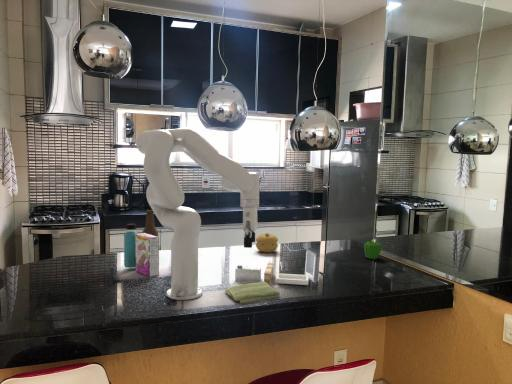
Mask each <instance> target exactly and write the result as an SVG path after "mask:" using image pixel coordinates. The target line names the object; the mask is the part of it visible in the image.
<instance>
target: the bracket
mask: <svg viewBox="0 0 512 384" xmlns="http://www.w3.org/2000/svg"><path fill="white" fill-rule="evenodd" d="M275 276H276V277H275V284H282V285H283V284H285V285H286V284H287V285H298V286H299V285H302V286H303V285H304V286H309V274H293V273H276V275H275Z"/></svg>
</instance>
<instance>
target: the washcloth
mask: <svg viewBox="0 0 512 384" xmlns="http://www.w3.org/2000/svg"><path fill="white" fill-rule="evenodd" d="M224 292H226V294H227V295H228V296H229V297H230V298H232V299H233V300H234V301H235V302H236V301H237V302H238V303H240V304H246V303H253V302H257V301H259V302H260V301H264V300H269V299H275V298H276V299H277V298H278V297H280V295H281V292H280V291H279V290H278V289H276V288H274V287H273V286H271V285H269V284H268V283H266V282H264V280H262V281H261V280H260V282H253V283H252V282H250V283H245V284H241V285H240V284H239V285H233V286H230V287H228V288H225V290H224Z"/></svg>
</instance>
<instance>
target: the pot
mask: <svg viewBox="0 0 512 384" xmlns="http://www.w3.org/2000/svg"><path fill="white" fill-rule="evenodd" d="M278 241H279V239H278V237H277V235H275V234H270V233H268V232H266V233H263V234H259V235H258V236H256V237H255V242H256V243H255V247H256V249H257V250H258V251H260V252H262V253H267V254H269V253H272V252H275V251H276V250H277V248H278V246H279V244H278Z"/></svg>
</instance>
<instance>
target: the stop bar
mask: <svg viewBox="0 0 512 384" xmlns="http://www.w3.org/2000/svg"><path fill="white" fill-rule="evenodd" d="M234 274H235V276H234V277H235V278H234V279H235V281H238V282H239V281H240V282H241V281H242V282H254V283H258V282H261V279H262V267H261V266H243V265H240V264H239V265H236V267H235V270H234Z"/></svg>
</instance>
